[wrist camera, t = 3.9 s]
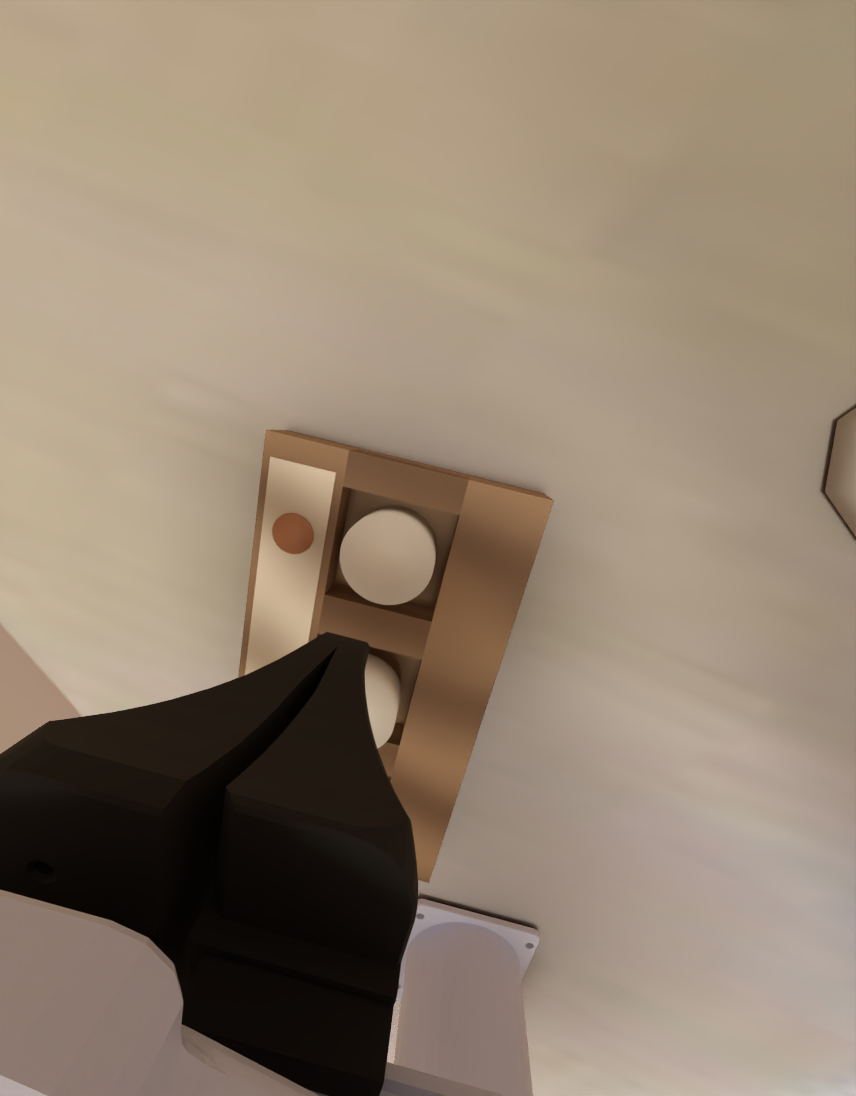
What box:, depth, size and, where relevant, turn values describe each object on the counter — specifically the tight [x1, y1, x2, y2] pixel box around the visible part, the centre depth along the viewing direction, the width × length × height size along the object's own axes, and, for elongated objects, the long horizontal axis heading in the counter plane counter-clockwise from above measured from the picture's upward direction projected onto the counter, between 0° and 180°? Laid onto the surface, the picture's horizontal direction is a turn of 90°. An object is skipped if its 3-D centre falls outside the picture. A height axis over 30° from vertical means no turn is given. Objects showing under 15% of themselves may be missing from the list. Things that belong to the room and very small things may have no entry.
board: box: [238, 430, 554, 883], centre depth 20 cm, size 22×12×2 cm, turn 167°
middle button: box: [365, 654, 402, 749], centre depth 18 cm, size 4×4×2 cm
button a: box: [340, 505, 437, 605], centre depth 18 cm, size 4×4×2 cm
